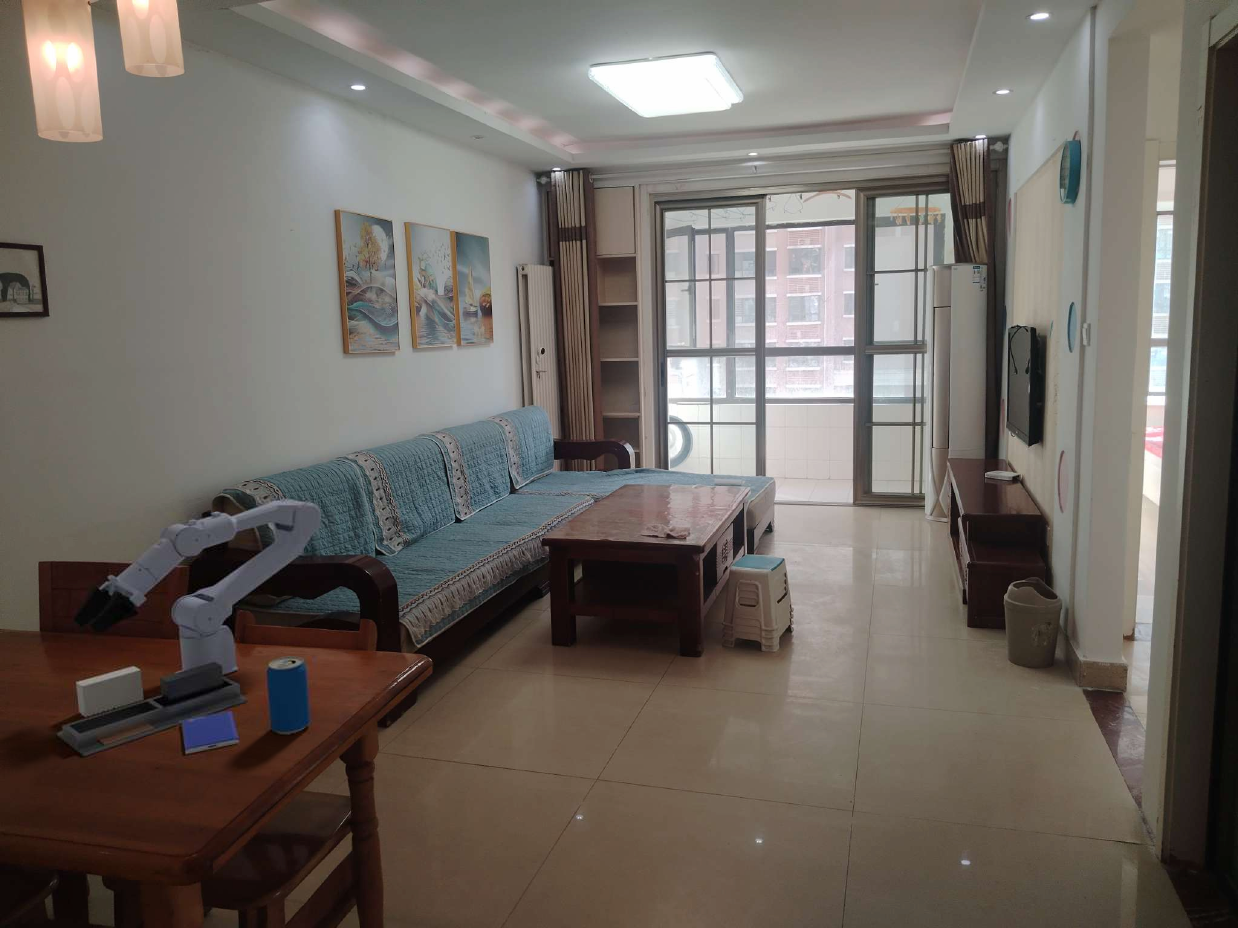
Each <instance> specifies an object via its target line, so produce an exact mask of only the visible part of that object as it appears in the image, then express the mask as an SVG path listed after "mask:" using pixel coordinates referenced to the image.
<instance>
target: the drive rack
mask: <svg viewBox="0 0 1238 928" xmlns="http://www.w3.org/2000/svg"><path fill="white" fill-rule="evenodd" d="M180 671H181V672H178V671H177V672H178V673H171V674H168V675H165V676H162V677H161V676H160V677H159V683H160V691H161V693H160V694H161V695H157V696H154V697H151V698H147V699H145V700H141V701H137V702H134V703H131V704H128V705H124V706H121V707H118V708H115V709H111V710H108V711H105V712H102V713H99V714H95V715H92V716H89V717H85V718H83V719H79V720H76V721H73V722H70V723H68V724H64V725H61V729H62V730H61V731H57V737H59V738H60V739H62V741H64V742H65V743H67V745H69V746H70V747H72V748H73V749H74V750H75V751H77V752H78V753H79V754H81V755H82V756H83V757H87V756H90V755H94V754H96V753H98V752H101V751H104V750H108V749H110V748H114V747H117V746H120V745H123V744H125V743H128V742H131V741H134V740H137V739H140V738H142V737H147V736H149V735H152V734H155V733H157V732H162V731H164V730H167V729H169V728H174V727H175V726H179V725H182V721H183V720H186V719H191V718H196V717H202V716H207V715H211V714H215V713H217V712H220V711H222V710H223V711H224V710H226V709H229V708H233V707H234V706H238V705H240V704H244V703H247V702H248V701H249V700H248V699H249V698H248V697H246V696H244V695H242V694H241V686H240V683H237V682H235V681H233V680H231V679H229V678H228V677H225V676H224V675H223V673H222V665H220V664H218V663H216V662H212V663H208V664H205V665H202V666H198V667H195V668H191V669H188V670H185V671H182V670H180Z"/></svg>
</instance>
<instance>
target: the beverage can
mask: <svg viewBox="0 0 1238 928" xmlns="http://www.w3.org/2000/svg"><path fill="white" fill-rule="evenodd" d="M266 681H267V692H268V693H267V694H268V708H269V709H268V711H269V720H270V728H271V731H273V732H276V733H277V734H279V735H292V734H291V733H294V734H296V733H295V732H297V733H299V732H298V731H300V732H302V731H304V730H305V729H306V728H305V727H308V726H309V725H310V723H311V713H310V699H309V698H310V696H309V686H308V685H309V684H308V683H309V682H308V670H307V665H306V664H305V663H304V659H303V658H302V657H299V656H284V657H279V658H276V659H273V660H272V661H270V662H269V663H268V668H267V670H266ZM304 728H305V729H304ZM303 729H304V730H303ZM301 730H302V731H301Z"/></svg>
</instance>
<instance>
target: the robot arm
mask: <svg viewBox="0 0 1238 928" xmlns="http://www.w3.org/2000/svg"><path fill="white" fill-rule="evenodd" d="M210 515H211V516H207V517H203V518H201V519H198V520H197V519H189V520H188V523H187V524H186V525H185V524H182V523H176V524H172V525H170V526H169V527H167V526H166V527H164V528H163V529H162V531H161V533H160V537H159V538H158V541H157V542H156V543H154V545H152V546H151V547H150V548H149V549H148V550H146V551H145V552H144V553H143V554H141V556H139V558H137V559H136V560H135V561H134V562H133V563H132V564H130V565H129V567H127V568H126V569H125V570H124V571H122V572H121V573H120V574H119V575H118V576H114V575H112V574H109V575H108V576H107V579H108V580H109V581H106V582H104V583H103V584H102V585H101V586H97V585H95V584H94V585H92V586H91V588H90V590H89V593H88V595H87V597H86V598H85V599H86V600H85V601H84V603H83V604H82V605H81V607H80V608H79V609H78V611H77V612H76V614H75V615H74V616H73V618H72V621H73V622H74V623H75V625H77V626H79V628H82V627H84V626H87V625H88V624H89V623H90V624H89V626H88V627H89V628H90V629H91V630H92V631H93V632H94V633H95V634H97V635H100V634H101V633H103V632H105V631H106V630H108V629H110V628H112V627H113V626H115V625H117V624H119V623H120V622H122V621H125V620H127V619H130V618H133V617H137V616H138V615H139V611H138V610H137V609H136V607H140V606H141V605H142V604H143V603H145V601H147V598H146V597H145V595H146V594H147V593H148V592H149V591H150V590H152V589H153V587H155V586H156V584H158V583H159V582H160V581H161V580H163V579H164V578H165V576H167V575H168V574H169V573H170V572H172V570H173V569H174V568H176V567H177V566H178V565H179V564H180V563H181V562H182V561H183V560H184V559H185V558H186V557H192V556H194V557H195V556H197V555H199V554H200V553H201V552H202V551H203V549H206V548H209V547H213V546H215V545H219V544H222V543H226V542H228V541H232V540H233V539H234V538H235V536H236V534H237V532H240V531H244V530H248V529H252V528H256V527H259V526H263V525H267V524H271V523H273V531H274V537H275V538H274V542H273V543H272V544H270V545H269V546H268V547H266V548H264V549H263V550H261V552H259V553H258V554H256V555H255V556H254V557H252V558H251V559H250V560H248V561H246V562H245V563H244V564H242V565H241V566H239V567H238V568H237V569H236V570H234V571H232V572H231V573H229V575H227V576H225V577H224V578H223V579H221V580H220V581H219V582H217V583H216V584H214V585H213V586H212V585H211V586H209V587H205V588H201V589H199V590H197V591H196V592H194V593H192V594H189V595H183V596H181V597H180V598H178V599H176V601H175V602H174V604H173V605H172V608H171V617H172V618H171V619H172V621H173V622H174V624H176V625H178V628H179V631H178V634H179V643H180V655H181V663H182V664H181V666H182V670H179V671H176V672H175V673H178V672H181V671H185V670H188V669H191V668H195V667H198V666H202V665H205V664H208V663H212V662H216V663H218V664H220V665H222V673H223V676H224V675H226V674H230V673H233V672H235V671H239V668H238V667H237V660H236V659H237V658H236V649H235V639H234V635H233V632H232V630H231V629H230V628H229V626H227V625H223V623H224V621H225V620H226V619H227V618H229V617H230V616H231V615H232V613H233V605H234V604H236V603H238V601H239V600H241V599H243V598H244V597H246V596H247V595H249V593H251V592H252V591H253V590H255V589H256V588H258V586H260V585H262V584H263V583H264V582H265V581H267V580H268V579H270V578H271V577H273V575H275V574H277V573H278V572H279V571H280V570H282V569H283V568H285V567H286V566H287V565H289V564H290V563H291V562H292V561H294V560H295V559H297V558H298V557H299V556H300V555H301V554H302V552H304V551H303V550H304V549H305V547H306V545H307V544H308V542H309V541H310V539H311V537H312V536H313V535H314V534H316V533H317V532H318V531H319V530H320V528H321V527H320V526H321V521H322V511H321V509H320V507H319V506H318V505H317V504H315V503H312V502H305V501H299V500H294V499H291V498H288V497H287V498H282V499H279V500H273V501H270V502H269V503H265V504H263V505H261V506H260V505H259V506H257V507H255V508H251V509H248V510H246V511H243V512H241V513H240V512H239V513H238V514H235V515H232V516H231V515H230V514H228V513H225V512H220V511H215V512H211V513H210ZM175 673H174V674H175Z"/></svg>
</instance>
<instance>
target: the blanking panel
mask: <svg viewBox="0 0 1238 928" xmlns="http://www.w3.org/2000/svg"><path fill="white" fill-rule="evenodd" d="M75 685H76V694H77V702H78V704H77V705H78V713H79V714H80V713H81V714H80V715H81V716H83V717H84V716H85V718H88V717H87V716H89V717H92V716H94V715H93V714H95V715H98V714H97V713H99V714H102V713H104V712H103V711H105V712H108V711H112V710H114V709H113V708H115V709H118V708H121V707H125V706H128V705H131V704H134V703H138V702H141V701H144V691H143V682H142V672H141V669H140V668H138V667H136V666H134V665H133V666H129V667H126V668H122V669H119V670H114V671H111V672H108V673H105V674H102V675H98V676H94V677H90V678H87V679H82V680H79V681H76V682H75ZM107 710H108V711H107ZM101 712H102V713H101ZM91 715H92V716H91Z"/></svg>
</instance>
